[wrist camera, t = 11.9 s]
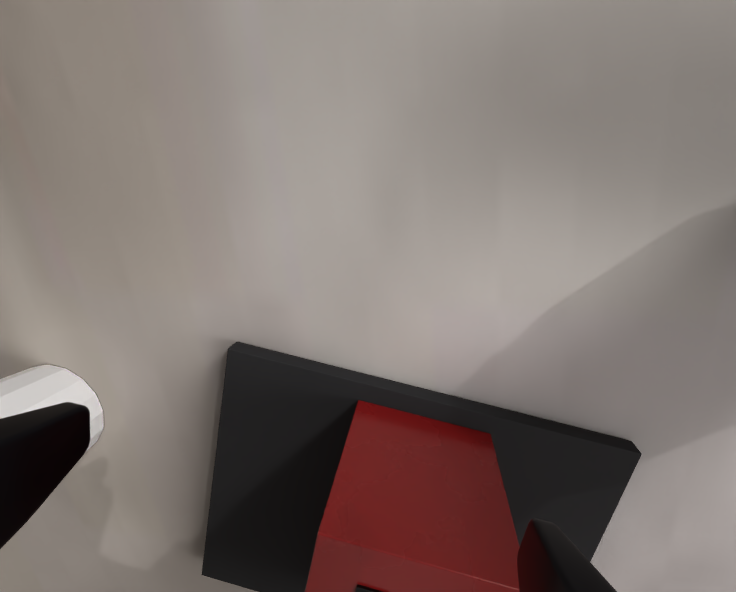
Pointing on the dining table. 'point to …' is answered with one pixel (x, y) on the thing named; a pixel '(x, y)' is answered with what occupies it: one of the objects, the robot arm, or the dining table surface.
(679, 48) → the dining table surface
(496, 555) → the toaster
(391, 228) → the dining table surface
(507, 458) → the placemat
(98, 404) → the shot glass
